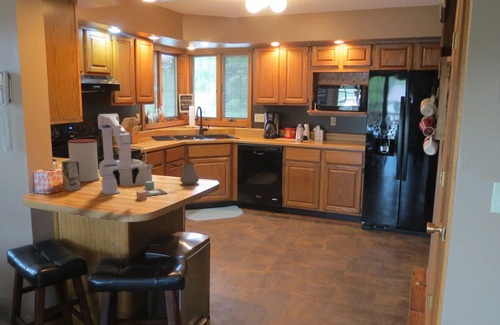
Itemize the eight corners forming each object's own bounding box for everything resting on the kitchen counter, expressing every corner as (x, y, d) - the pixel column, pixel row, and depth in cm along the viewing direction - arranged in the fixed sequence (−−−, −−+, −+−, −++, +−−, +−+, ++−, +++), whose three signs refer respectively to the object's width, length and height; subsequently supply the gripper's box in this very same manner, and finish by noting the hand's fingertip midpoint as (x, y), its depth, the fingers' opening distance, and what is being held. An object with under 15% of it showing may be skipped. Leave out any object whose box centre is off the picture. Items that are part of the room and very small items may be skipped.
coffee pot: (192, 180, 266) (191, 157, 263) (202, 183, 257) (202, 159, 255) (162, 185, 252) (161, 161, 249) (172, 189, 243) (171, 163, 241)
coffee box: (80, 189, 242) (79, 161, 239) (69, 191, 238) (67, 163, 235) (73, 186, 248) (71, 159, 246) (62, 188, 244) (60, 161, 241)
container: (67, 179, 269) (64, 140, 265) (95, 176, 278) (93, 138, 274) (73, 184, 255) (70, 143, 251) (102, 180, 264) (100, 141, 260)
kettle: (161, 178, 272) (160, 144, 268) (146, 186, 250) (145, 149, 246) (125, 177, 276) (123, 143, 272) (107, 184, 254) (105, 147, 250)
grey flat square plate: (141, 192, 236) (141, 191, 236) (159, 189, 242) (159, 188, 242) (148, 196, 227) (148, 195, 227) (167, 193, 233) (167, 192, 233)
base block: (145, 188, 246) (144, 181, 245) (151, 187, 248) (151, 180, 247) (147, 189, 242) (147, 182, 242) (154, 188, 245) (154, 182, 244)
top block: (136, 198, 223) (136, 191, 222) (144, 197, 225) (143, 190, 224) (139, 200, 219) (139, 192, 219) (146, 199, 222) (146, 191, 221)
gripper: (112, 159, 201) (114, 187, 204) (142, 157, 209) (143, 184, 212) (108, 157, 207) (109, 184, 209) (137, 155, 215) (138, 181, 217)
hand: (126, 184), depth 211 cm, fingers open, 7 cm apart
